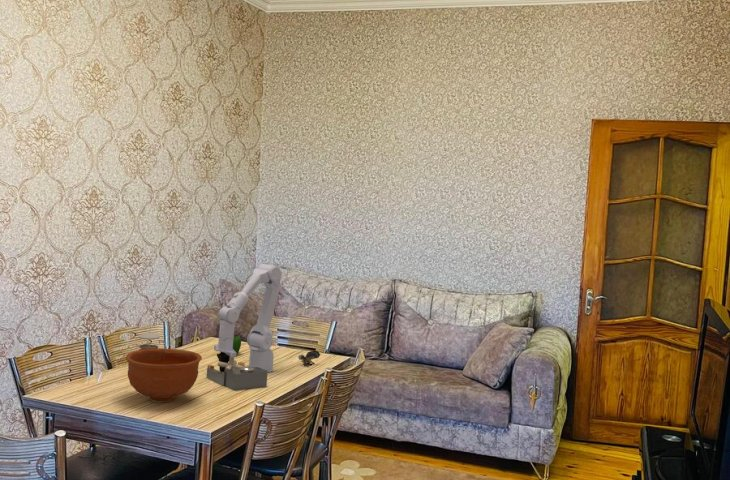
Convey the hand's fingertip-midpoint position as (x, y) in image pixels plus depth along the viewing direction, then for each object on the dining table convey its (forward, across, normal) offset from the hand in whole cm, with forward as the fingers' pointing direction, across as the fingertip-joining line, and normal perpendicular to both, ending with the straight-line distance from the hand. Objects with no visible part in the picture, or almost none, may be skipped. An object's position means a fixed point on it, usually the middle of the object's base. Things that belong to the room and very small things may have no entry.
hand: (223, 371), depth 280 cm
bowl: (+3, +20, -34) cm, 40 cm away
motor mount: (+2, +10, +1) cm, 10 cm away
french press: (+2, -18, -22) cm, 29 cm away
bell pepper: (+2, -34, +22) cm, 41 cm away
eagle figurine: (+1, -4, +44) cm, 44 cm away
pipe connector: (+2, +4, +1) cm, 5 cm away
